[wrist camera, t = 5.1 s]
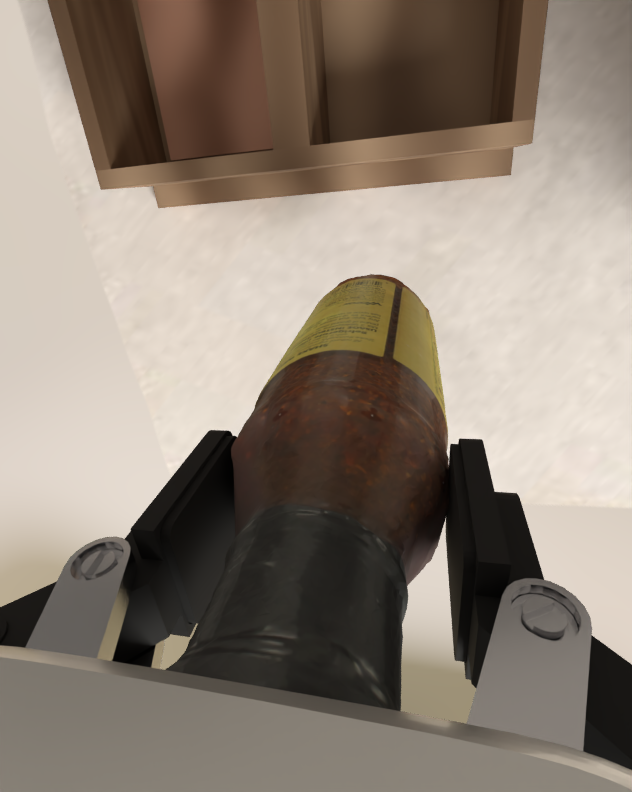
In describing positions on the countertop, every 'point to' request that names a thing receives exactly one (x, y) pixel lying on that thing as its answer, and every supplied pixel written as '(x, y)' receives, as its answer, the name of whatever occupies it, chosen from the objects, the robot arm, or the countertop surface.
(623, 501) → the countertop surface
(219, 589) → the sauce bottle
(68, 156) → the countertop surface
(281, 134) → the caddy
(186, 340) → the countertop surface
